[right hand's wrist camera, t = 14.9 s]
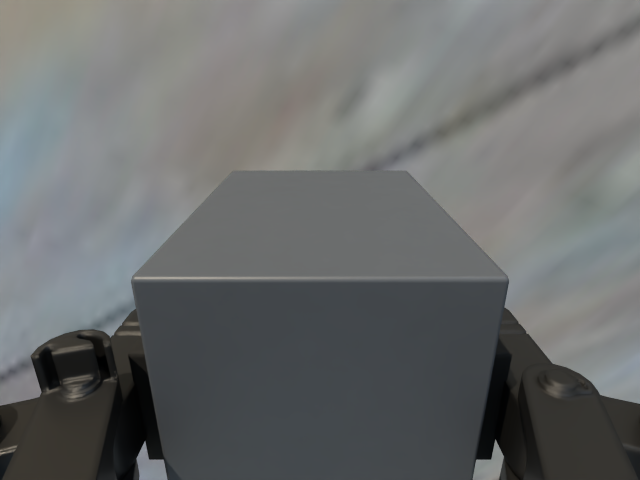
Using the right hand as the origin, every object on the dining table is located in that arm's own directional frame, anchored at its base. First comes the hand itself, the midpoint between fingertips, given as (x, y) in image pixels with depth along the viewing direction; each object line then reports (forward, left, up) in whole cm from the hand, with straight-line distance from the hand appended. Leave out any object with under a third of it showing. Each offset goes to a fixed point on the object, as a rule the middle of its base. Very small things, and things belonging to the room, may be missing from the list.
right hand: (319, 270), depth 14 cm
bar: (-5, +8, -1) cm, 10 cm away
